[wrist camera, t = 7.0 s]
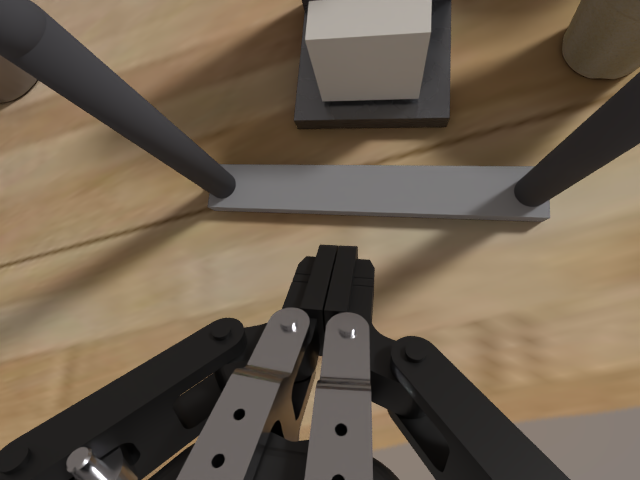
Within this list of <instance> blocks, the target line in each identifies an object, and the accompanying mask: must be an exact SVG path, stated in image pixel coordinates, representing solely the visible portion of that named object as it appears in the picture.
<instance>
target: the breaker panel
mask: <svg viewBox="0 0 640 480" xmlns="http://www.w3.org/2000/svg"><path fill="white" fill-rule="evenodd" d="M309 1H316V0H302V3H303V7H304V11H305V16H304V25H303V35H302V45H301V55H300V65H299V75H298V85H297V95H296V104H295V114H294V122H295V124H296V126H297V128H298V129H335V128H410V127H446V126H447V123H448V121H449V118H450V53H451V0H432V11H431V35H430V40H429V45H428V51H427V56H426V62H425V67H424V72H423V78H422V83H421V89H420V94H419V99H391V100H356V101H322V98H321V95H320V91H319V88H318V84H317V80H316V77H315V73H314V70H313V66H312V63H311V59H310V56H309V52H308V49H307V45H306V42H305V35H306V25H307V15H308V5H309Z"/></svg>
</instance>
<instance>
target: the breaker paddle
mask: <svg viewBox="0 0 640 480" xmlns="http://www.w3.org/2000/svg"><path fill="white" fill-rule="evenodd" d="M431 11H432V0H316V1H309V5H308V15H307V25H306V35H305V42H306V45H307V49H308V52H309V56H310V59H311V63H312V66H313V70H314V73H315V77H316V80H317V84H318V88H319V91H320V95H321V98H322V101H356V100H391V99H419V94H420V89H421V83H422V78H423V72H424V67H425V62H426V56H427V51H428V45H429V40H430V35H431Z"/></svg>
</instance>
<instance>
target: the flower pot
mask: <svg viewBox="0 0 640 480" xmlns="http://www.w3.org/2000/svg"><path fill="white" fill-rule="evenodd" d="M562 52H563V56H564V59H565V60H566V62H567V63H568V65H569V66H570V67H571V68H572V69H573V70H574V71H576V72H577V73H579V74H581V75H583V76H585V77H588V78H606V79H617V78H620V77H623V76H626V75H628V74H630V73H632V72H633V71H635V70H636V69H637V68H639V67H640V0H581V2H580V4H579V6H578V8H577V10H576V12H575V14H574V16H573V18H572V21H571V23H570V25H569V27H568V29H567V30H566V32H565V34H564V37H563V50H562Z"/></svg>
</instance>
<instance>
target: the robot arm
mask: <svg viewBox="0 0 640 480" xmlns="http://www.w3.org/2000/svg"><path fill="white" fill-rule="evenodd" d="M36 81H37V79H36V78H34V77H33V76H31V75H30V74H28V73H27V72H25V71H24V70H22V69H21V68H19V67H17V66H16V65H14V64H13V63H11V62H10V61H8V60H7V59H5V58H4V57H2V56H1V55H0V103H3V102H9V101H12V100H14V99H16V98H18V97H20V96H22V95H23V94H24V93H26V92H27V91H28V90H29V89H30V88H31V87H32V86H33V85H34V84H35V82H36ZM374 271H375V268H374V267H373V265H372V263H371V261H370V260H364V259H358V247H357V246H339V247H338V246H336V245H320V246H319V249H318V252H317V255H316V257H310V256H306V257H305V258H304V259H303V260H302V261H301V262H300V263H299V264H298V267H297V270H296V272H295V275H294V278H293V282H292V283H291V286H290V289H289V291H288V294H287V297H286V299H285V302H284V305H283V308H282V309H281V310H279V311H277V312H276V313H274V314H273V315H272V316H271V318H270V319H269V321H268V323H265V324H262V325H257V326H252V327H246V328H244V327H243V324H242V323H241V322H240V321H239V320H237V319H234V318H222V319H219V320H216V321H214V322H212V323H211V324H209V325H207V326H206V327H204V328H202V329H201V330H199V331H197V332H195V333H194V334H192V335H190V336H189V337H187V338H185V339H184V340H182V341H180V342H179V343H177V344H175V345H174V346H172V347H170V348H169V349H167V350H165V351H163V352H162V353H160V354H158V355H157V356H155V357H153V358H152V359H150V360H148V361H147V362H145V363H143V364H142V365H140V366H138V367H137V368H135V369H133V370H131V371H130V372H128V373H126V374H125V375H123V376H121V377H120V378H118V379H116V380H115V381H113V382H111V383H110V384H108V385H106V386H104V387H103V388H101V389H99V390H98V391H96V392H94V393H93V394H91V395H89V396H88V397H86V398H84V399H83V400H81V401H79V402H78V403H76V404H74V405H72V406H71V407H69V408H67V409H66V410H64V411H62V412H61V413H59V414H57V415H56V416H54V417H52V418H51V419H49V420H47V421H46V422H44V423H42V424H40V425H39V426H37V427H35V428H34V429H32V430H30V431H29V432H27V433H25V434H24V435H22V436H20V437H19V438H17V439H15V440H14V441H12V442H11V443H9V444H8V445H7V446H5V447H4V448H3V449H2V450H1V451H0V480H141V479H143V478H144V477H145V476H147V475H148V474H149V473H151V472H152V471H153V470H154V469H156V468H157V467H158V466H160V465H161V464H162V463H164V462H165V461H166V460H168V459H169V458H170V457H171V456H173V455H174V454H175V453H177V452H178V451H179V450H181V449H182V448H183V447H184V446H186V445H187V444H188V443H190V442H191V441H192V440H194V439H195V438H196V437H197V436H199V437H198V439H197V441H196V443H194V444H192V445H191V446H189V447H188V448H186V449H185V450H184V451H183V452H181V453H180V454H179V455H178V456H176V457H175V458H174V459H173V460H172V461H170V462H169V463H168V464H167V465H165V466H164V467H163V468H162V469H161V470H159V471H158V472H157V473H156V474H154V475H153V476H152V477H151V478H149V479H148V480H399V479H398V477H397V476H396V475H394V473H393V472H392V471H391V470H390V469H388V468H387V467H386V466H385V465H384V464H382V463H381V462H379V461H378V460H376V459H375V458H373V457H372V410H371V401H372V402H374V403H376V404H378V405H380V406H382V407H384V408H386V409H387V410H388V413H389V415H390V417H391V418H392V420H393V421H394V422H395V424H396V425H397V426H398V428H399V429H400V431H401V432H402V433H403V435H404V436H405V438H406V439H407V440H408V442H409V443H410V445H411V446H412V447H413V449H414V450H415V451H416V453H417V454H418V456H419V457H420V458H421V460H422V461H423V462H424V464H425V465H426V466H427V468H428V470H429V471H430V472H431V474H432V475H433V476H434V478H435V479H436V480H570V479H569V478H568V477H567V476H566V475H565V474H564V473H563V472H562V471H561V470H560V469H559V468H558V467H557V466H556V465H555V464H554V463H553V462H552V461H551V460H550V459H549V458H548V457H547V456H546V455H545V454H544V453H543V452H542V451H541V450H539V448H537V446H536V445H534V444H533V443H532V442H531V441H530V440H529V439H528V438H527V437H526V436H525V435H524V434H523V433H522V432H521V431H520V430H519V429H518V428H517V427H516V426H515V425H514V424H513V423H512V422H511V421H510V420H509V419H508V418H507V417H506V416H505V415H504V414H503V413H502V412H501V411H500V410H499V409H498V408H497V407H496V406H495V405H494V404H493V403H492V402H491V401H490V400H489V399H488V398H487V397H486V396H485V395H484V394H483V393H482V392H481V391H480V390H479V389H478V388H477V387H476V386H475V385H474V384H473V383H472V382H471V381H469V380H468V379H467V378H466V377H465V376H464V375H463V374H462V373H461V372H460V371H459V370H458V369H457V368H456V367H455V366H454V365H453V364H452V363H451V362H450V361H449V360H448V359H447V358H446V357H445V356H444V355H443V354H442V353H441V352H440V351H439V350H438V349H437V348H436V347H435V346H434V345H433V344H432V343H430V342H429V341H427V340H425V339H423V338H420V337H416V336H407V337H403V338H400V339H399V340H397V341H395V340H392V339H390V338H387V337H385V336H383V335H382V334H380V333H379V332H378V331H377V330H376V329H375V328H374V326H373V324H372V313H373V300H374ZM318 356H323V357H322V365H321V374H320V380H318V381H317V385H316V390H315V398H314V407H313V415H312V423H311V431H310V439H309V440H304V441H299V432H300V426H301V422H302V419H303V416H304V412H305V409H306V406H307V402H308V399H309V396H310V392H311V389H312V386H313V382H314V379H315V375H316V370H315V368H316V365H317V360H318ZM212 373H213V374H212ZM209 375H210V376H209ZM206 377H207V378H206ZM205 378H206V379H205ZM203 379H204V380H203ZM202 380H203V381H202ZM200 381H201V382H200ZM199 382H200V383H199ZM197 383H198V384H197ZM196 384H197V385H196ZM194 385H195V386H194ZM193 386H194V387H193ZM191 387H192V388H191ZM190 388H191V389H190ZM188 389H189V390H188ZM187 390H188V391H187ZM184 392H185V393H184ZM181 394H182V395H181ZM180 395H181V396H180Z"/></svg>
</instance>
